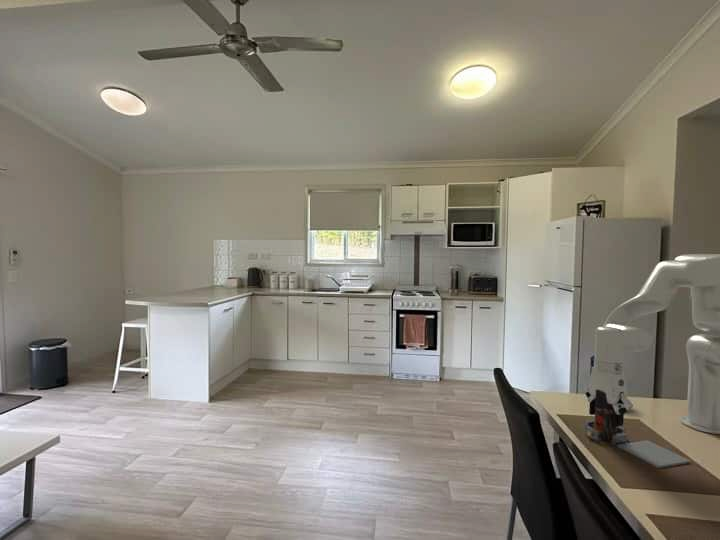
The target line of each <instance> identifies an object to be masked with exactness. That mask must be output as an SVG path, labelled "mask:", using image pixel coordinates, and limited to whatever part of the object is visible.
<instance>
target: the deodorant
mask: <svg viewBox="0 0 720 540" xmlns="http://www.w3.org/2000/svg"><path fill="white" fill-rule="evenodd" d="M614 413H616V412H615V410H614V408H613V406H612V405H611V404H609V403H608V402H607V398H606V393H604V392H601V391H599V390H597V389H596V399H595V415H594V420H595V424H594V429H596V430H598V431H600V432H601V436H600V440H602V441H604V442H605V441H606V442H612V434H616V429H617V427H615V426H614V425H613V418H614Z"/></svg>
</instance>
